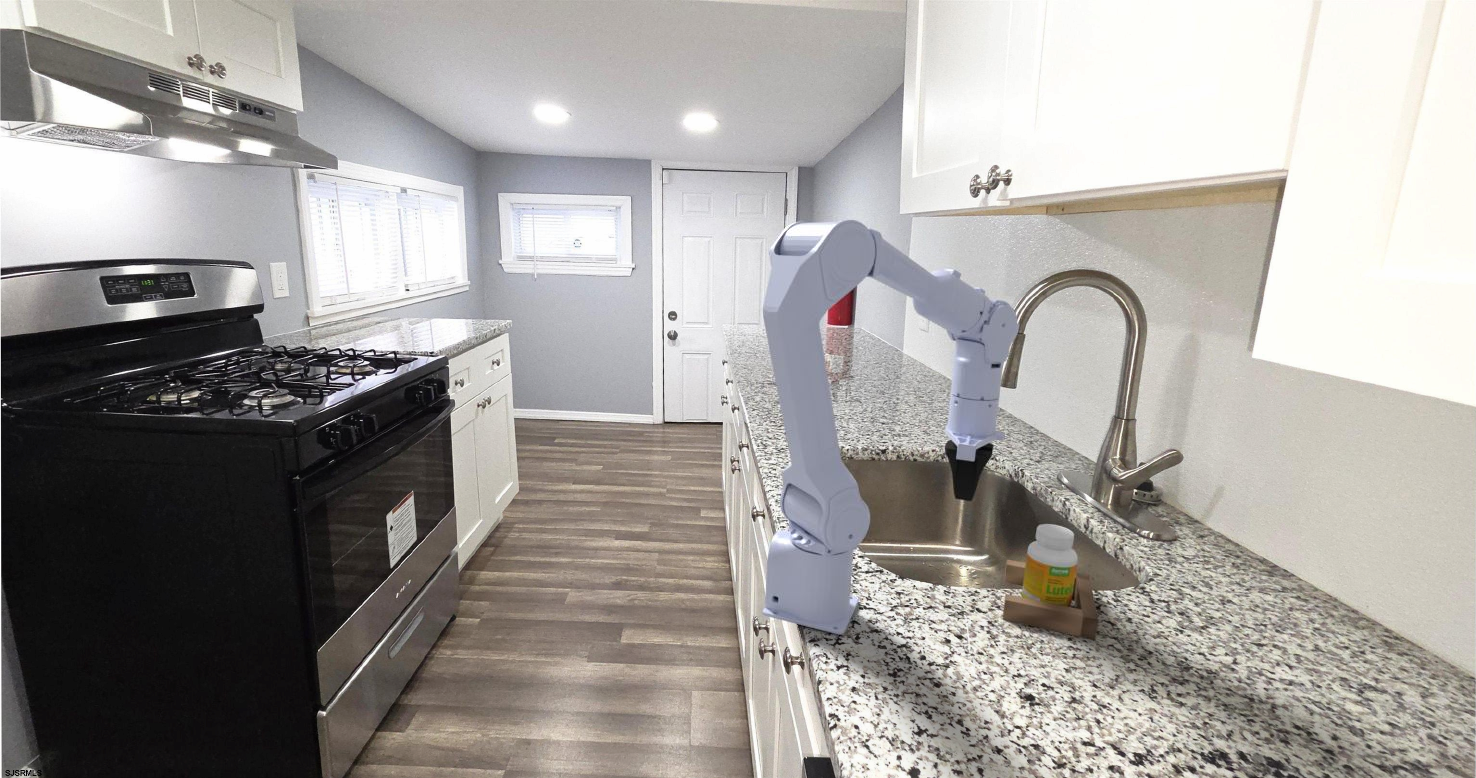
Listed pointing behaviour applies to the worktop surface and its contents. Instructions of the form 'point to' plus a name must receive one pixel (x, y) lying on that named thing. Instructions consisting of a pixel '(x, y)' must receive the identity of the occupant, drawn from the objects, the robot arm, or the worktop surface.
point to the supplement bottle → (1050, 566)
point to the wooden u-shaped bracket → (1052, 607)
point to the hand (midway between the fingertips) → (963, 498)
